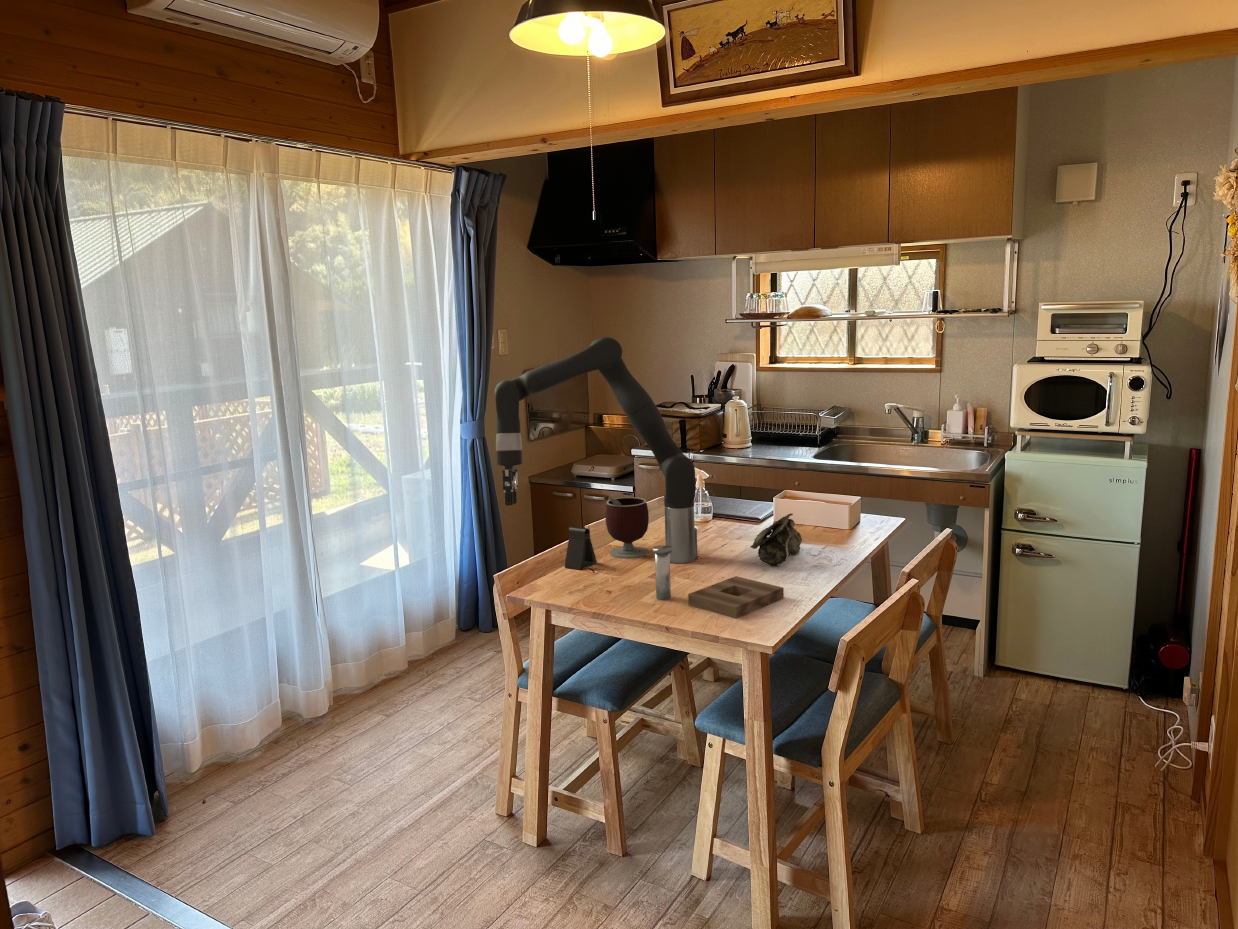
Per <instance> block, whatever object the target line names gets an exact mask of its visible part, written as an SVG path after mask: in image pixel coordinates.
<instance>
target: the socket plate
mask: <svg viewBox="0 0 1238 929" xmlns="http://www.w3.org/2000/svg"><path fill="white" fill-rule="evenodd" d="M784 594H785V593H784V587H783V586H778V585H774V584H771V583H765V582H762V581H757V580H753V579H751V578H750V579H749V578H745V577H743V576H742V577H741V576H737V575H735V576H731V577H730V578H728V579H724V580H721V581H719V582H716V583H713V584H711V585H708V586H706V587H703V588H701V589H698V590H695V591H693V592H689V593H688V594H687V595H688V596H687V599H688V603H687V604H688V606H691V607H694V608H698V609H702V610H706V611H709V612H712V613H716V614H719V615H723V616H726V617H729V618H733V619H735V620H736V619H739V618H741V617H744V616H746V615H748V614H750V613H752V612H755V611H758V610H759V609H762V608H764V607H767V606H769V605H772V604H774V603H776V602H779V601H780V600H783V599H784V598H785V597H784Z"/></svg>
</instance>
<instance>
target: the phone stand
mask: <svg viewBox="0 0 1238 929" xmlns="http://www.w3.org/2000/svg"><path fill="white" fill-rule="evenodd" d="M566 549H567V550H566V555H565V560H564V561H565V562H564V568H565V569H570V570H577V571H582V570H584V569H587V568H589V567H590V566H593V565H595V564H598V563H597V562H598V561H597V557H596V555H595V554H596V553H595V550H594V546H593V544H592V540H591V531H590V528H586V527H580V526H569V528H568V541H567V548H566Z"/></svg>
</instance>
